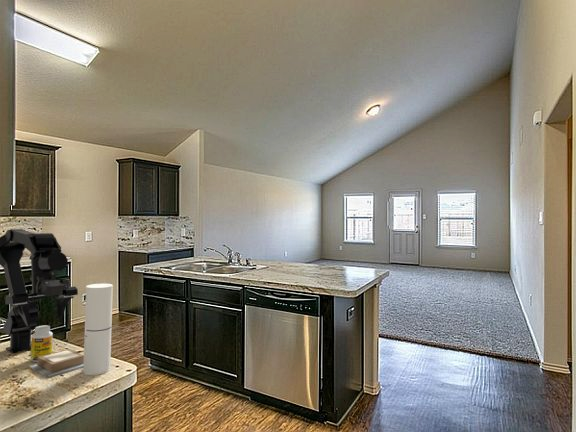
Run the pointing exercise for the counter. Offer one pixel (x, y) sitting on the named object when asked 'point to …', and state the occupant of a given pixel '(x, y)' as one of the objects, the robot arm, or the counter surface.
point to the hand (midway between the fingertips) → (44, 323)
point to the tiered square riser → (58, 363)
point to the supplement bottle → (41, 342)
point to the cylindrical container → (98, 329)
